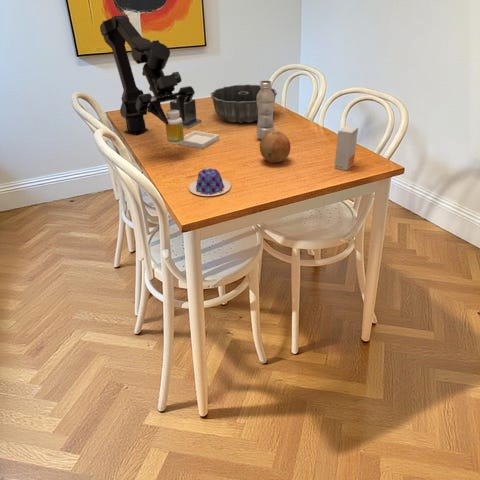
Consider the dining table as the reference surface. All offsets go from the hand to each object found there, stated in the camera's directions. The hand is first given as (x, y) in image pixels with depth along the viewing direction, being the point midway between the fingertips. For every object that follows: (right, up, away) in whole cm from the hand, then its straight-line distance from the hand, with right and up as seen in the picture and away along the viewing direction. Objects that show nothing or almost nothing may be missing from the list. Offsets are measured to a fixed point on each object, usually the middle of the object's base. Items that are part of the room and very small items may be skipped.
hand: (175, 122), depth 143 cm
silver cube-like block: (-2, +9, +38) cm, 39 cm away
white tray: (+5, -2, +20) cm, 20 cm away
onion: (+31, -12, +3) cm, 34 cm away
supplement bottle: (-1, -5, +5) cm, 7 cm away
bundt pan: (+22, +13, +44) cm, 51 cm away
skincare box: (+53, -14, -1) cm, 54 cm away
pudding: (+12, -22, -12) cm, 28 cm away
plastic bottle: (+29, -1, +21) cm, 36 cm away
